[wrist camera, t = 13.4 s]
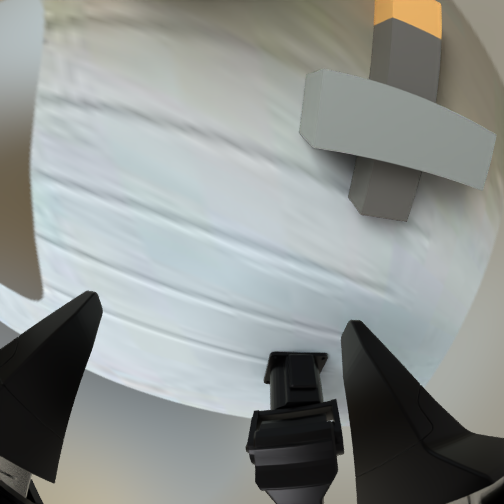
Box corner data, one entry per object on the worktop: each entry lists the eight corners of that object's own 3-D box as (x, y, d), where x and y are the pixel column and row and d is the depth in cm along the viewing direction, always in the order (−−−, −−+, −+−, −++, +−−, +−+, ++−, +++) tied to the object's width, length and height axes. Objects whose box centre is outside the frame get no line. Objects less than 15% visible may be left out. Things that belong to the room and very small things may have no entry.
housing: (443, 166, 17) (482, 190, 12) (299, 133, 16) (313, 147, 12) (453, 120, 14) (496, 134, 10) (306, 74, 14) (323, 68, 10)
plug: (389, 203, 19) (406, 221, 16) (347, 196, 19) (360, 214, 16) (419, 10, 10) (441, 3, 8) (374, -8, 10) (392, -20, 8)
